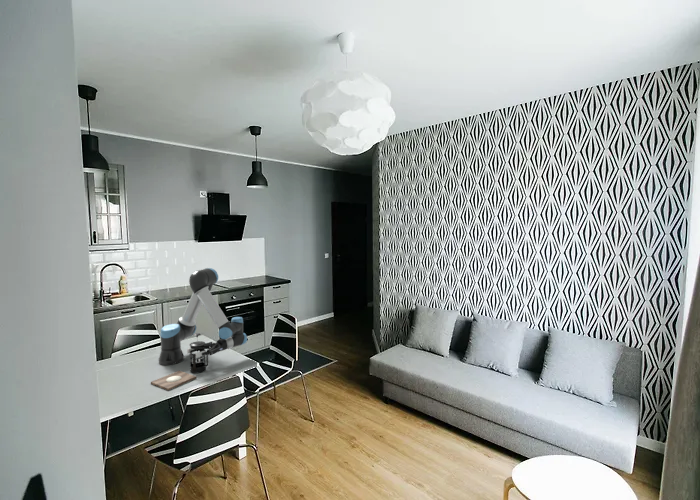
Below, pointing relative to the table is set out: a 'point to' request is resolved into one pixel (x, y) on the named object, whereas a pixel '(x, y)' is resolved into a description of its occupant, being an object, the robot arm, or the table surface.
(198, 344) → the french press
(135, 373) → the table surface
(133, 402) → the table surface
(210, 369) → the table surface
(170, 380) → the board
